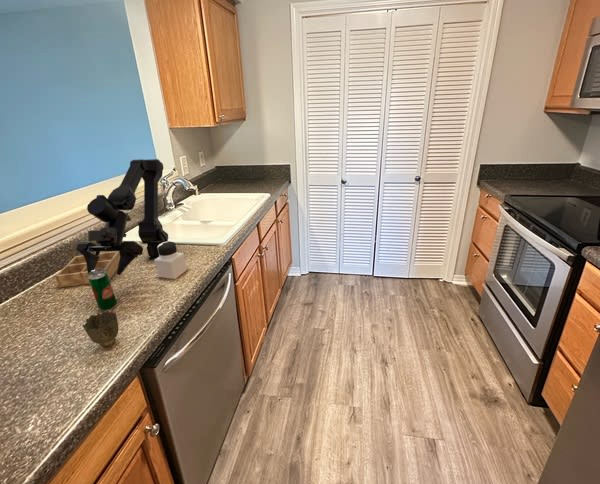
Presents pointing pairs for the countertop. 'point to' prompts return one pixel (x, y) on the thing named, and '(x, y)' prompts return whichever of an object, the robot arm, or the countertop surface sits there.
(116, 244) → the robot arm
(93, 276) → the soda can
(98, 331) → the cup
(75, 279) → the grid
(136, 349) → the countertop surface
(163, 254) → the medicine bottle
